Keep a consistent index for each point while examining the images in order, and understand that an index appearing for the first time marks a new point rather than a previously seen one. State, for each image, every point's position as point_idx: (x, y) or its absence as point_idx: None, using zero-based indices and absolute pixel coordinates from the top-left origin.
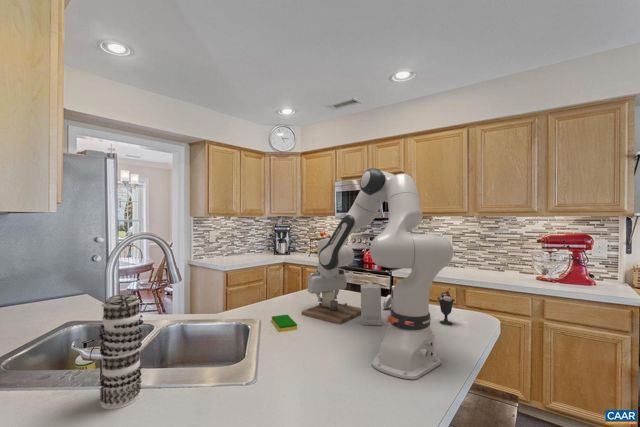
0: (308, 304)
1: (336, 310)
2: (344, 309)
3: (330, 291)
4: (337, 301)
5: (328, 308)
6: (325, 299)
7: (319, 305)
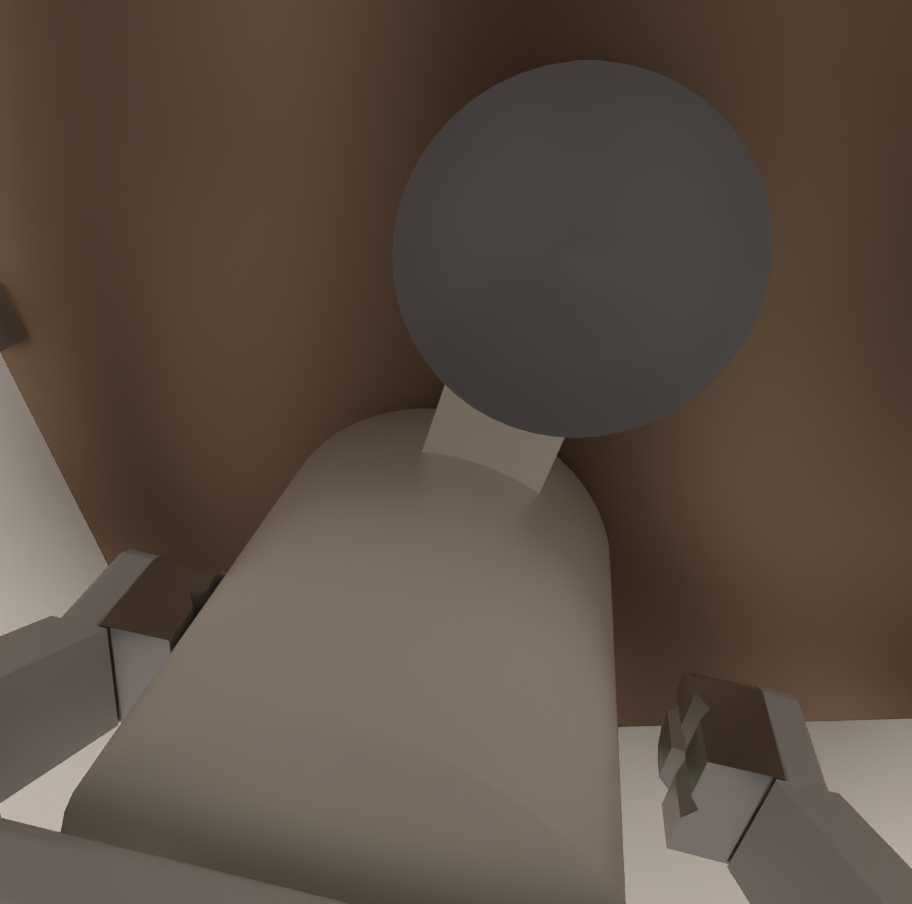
0: None
1: None
2: (263, 13)
3: None
4: (456, 141)
5: None
6: (607, 663)
7: None
